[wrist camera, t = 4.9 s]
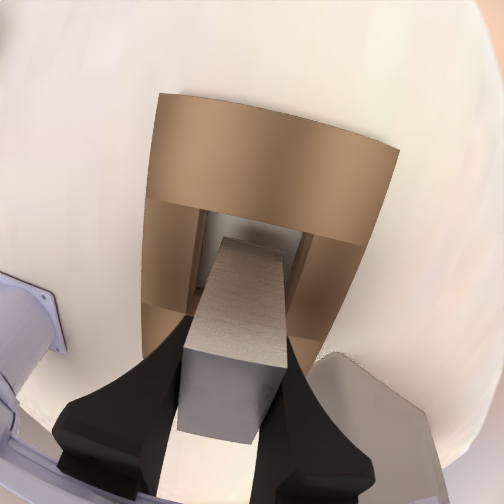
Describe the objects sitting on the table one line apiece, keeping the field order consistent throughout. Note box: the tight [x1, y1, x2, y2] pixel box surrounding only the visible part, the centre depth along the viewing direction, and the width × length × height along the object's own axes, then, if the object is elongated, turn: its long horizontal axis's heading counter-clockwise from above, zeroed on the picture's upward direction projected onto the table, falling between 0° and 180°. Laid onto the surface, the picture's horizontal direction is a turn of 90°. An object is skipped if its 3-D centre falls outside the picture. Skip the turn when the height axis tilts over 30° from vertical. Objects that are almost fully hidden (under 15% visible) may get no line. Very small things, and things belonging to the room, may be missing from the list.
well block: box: [141, 93, 400, 378], centre depth 18 cm, size 12×18×3 cm, turn 168°
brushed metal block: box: [177, 237, 287, 445], centre depth 13 cm, size 3×5×8 cm, turn 169°
